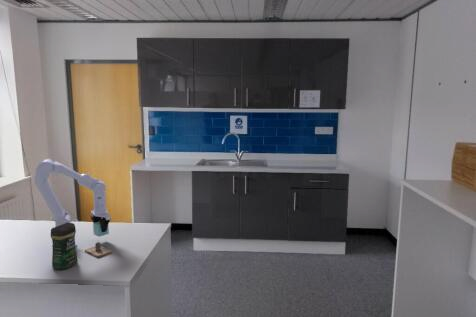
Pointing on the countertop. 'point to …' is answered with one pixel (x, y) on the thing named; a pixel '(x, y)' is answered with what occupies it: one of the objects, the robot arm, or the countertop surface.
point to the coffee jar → (63, 246)
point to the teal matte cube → (99, 229)
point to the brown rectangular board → (98, 250)
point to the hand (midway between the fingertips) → (101, 230)
